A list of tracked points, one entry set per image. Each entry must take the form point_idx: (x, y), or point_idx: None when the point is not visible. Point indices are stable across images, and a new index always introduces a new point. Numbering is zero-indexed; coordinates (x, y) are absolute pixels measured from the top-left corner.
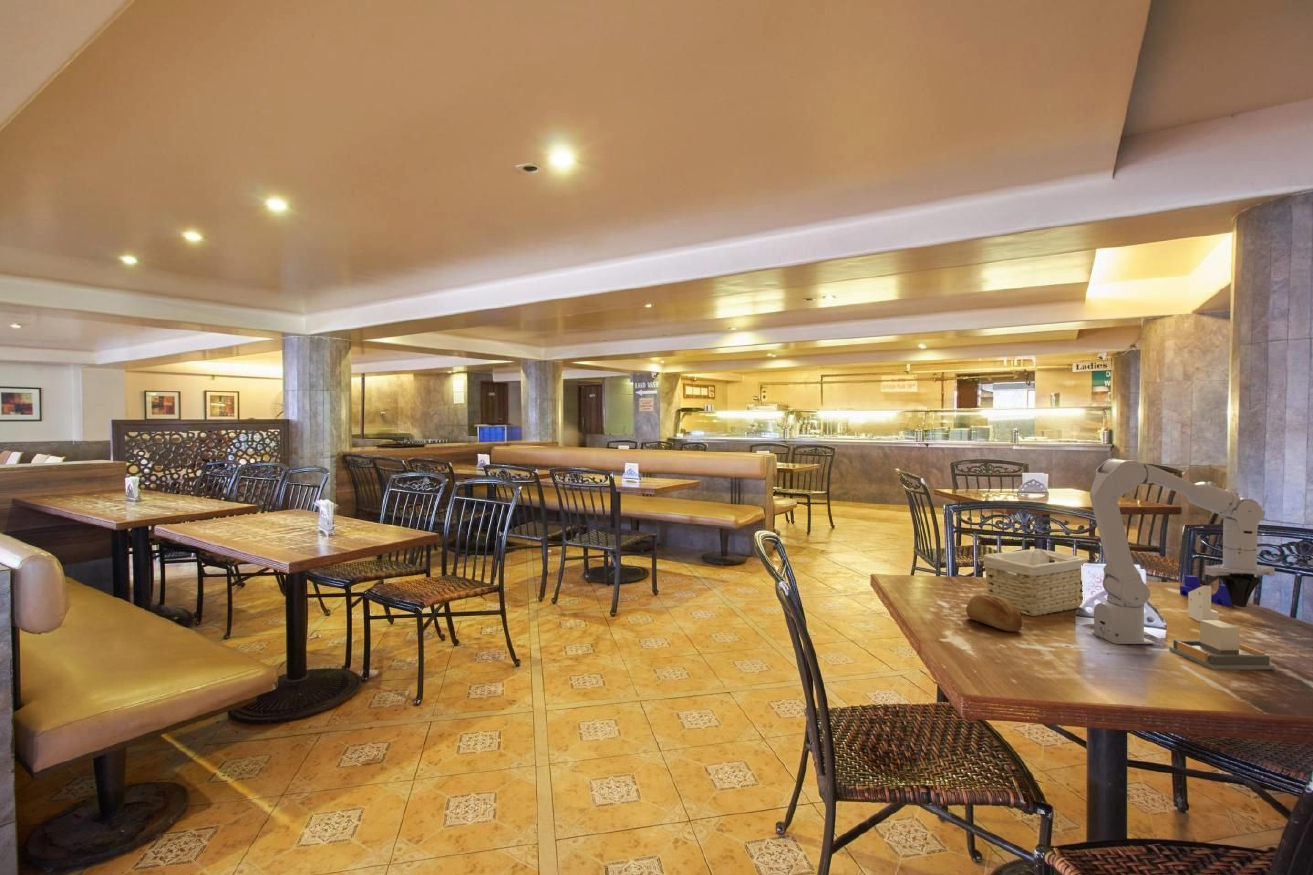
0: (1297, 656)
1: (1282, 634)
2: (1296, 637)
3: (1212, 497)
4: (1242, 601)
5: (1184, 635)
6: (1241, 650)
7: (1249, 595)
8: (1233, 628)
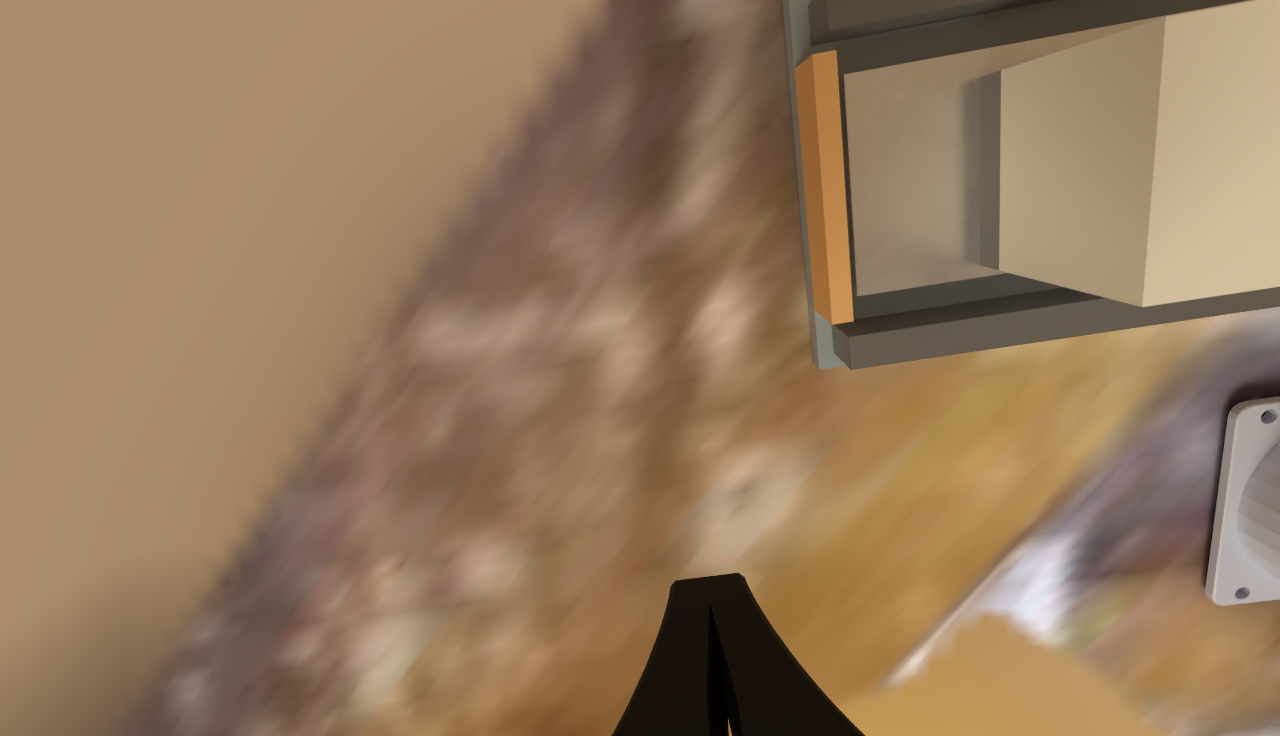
0: (423, 310)
1: (250, 684)
2: (204, 646)
3: None
4: (742, 609)
5: (854, 600)
6: (871, 190)
7: (652, 682)
8: (1233, 5)
